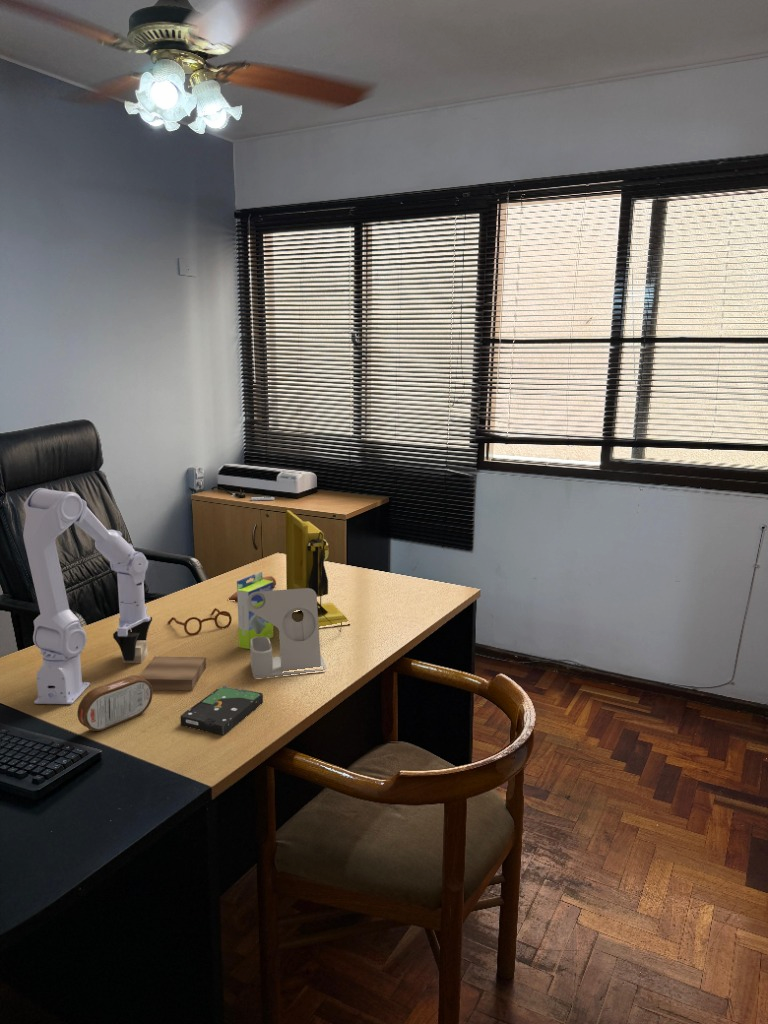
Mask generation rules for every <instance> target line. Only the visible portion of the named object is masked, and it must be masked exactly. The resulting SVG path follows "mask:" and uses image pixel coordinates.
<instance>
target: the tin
mask: <svg viewBox="0 0 768 1024" xmlns="http://www.w3.org/2000/svg"><path fill="white" fill-rule="evenodd" d="M153 691H154V690H152V686H151V684H150V683H149V682H148V681H146V680H145V679H144V678H143V677H141V676H140V675H137V674H132V675H129V676H126V677H123V678H121V679H117V680H115V681H114V680H113V681H111V682H108V683H105V684H103V685H99V686H96V687H94V688H93V689H91V690H89V692H87V693H86V694H85V695H84V696H83V697H82V699H81V700H80V701H79V704H78V707H77V712H76V715H77V719H78V721H79V723H80V724H81V725H82V726H83V727H85V728H87V729H88V730H90V731H95V732H101V731H104V730H107V729H110V728H112V727H114V726H117V725H120V724H122V723H124V722H127V721H129V720H132V719H134V718H136V717H139V716H141V715H142V714H144V712H145V711H146V710H147V709H148V708H149V706H150V705H151V702H152V700H153V699H152V698H153V693H154V692H153Z"/></svg>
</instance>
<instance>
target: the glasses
mask: <svg viewBox="0 0 768 1024" xmlns="http://www.w3.org/2000/svg"><path fill="white" fill-rule="evenodd" d="M215 612H217V613H216V614H215ZM211 613H212V614H211V615H215V616H214V617H207V618H203V619H202V620H201V619H200V618H198V617H197V616H195V617H194V616H191V617H189V618H187V619H186V620H185V621H184V622H182V621H179V620H177V618H176V617H174V616H172V617H171V618H170V619H169V620H168V623H169V624H170V622H171V623H172V622H173V621H174V622H175V624H177V625H181V626H183V630H184V632H185V634H186V635H188V636H196V635H199V633H200V632H201V630H202V627H203V625H202V624H203V623H205V622H207V621H214V624H215V626H216V627H217V628H218V629H220V630H223V629H222V628H224V629H226V627H227V628H229V627H230V625H231V624H232V620H233V618H232V615H231V613H230V612H228V611H226V610H222V611H221V610H219V609H218V608H217V607H215V608H214V609H213V610H212V611H211ZM220 615H221V616H223V617H228V623H227V624H226V625H224V626H220V625H219V623H218V617H219V616H220ZM192 620H196V621H197V622H198V624H199V625H198V629H197V630H196V632H189V631H188V629H187V626H188V623H189V622H190V621H192Z"/></svg>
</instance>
